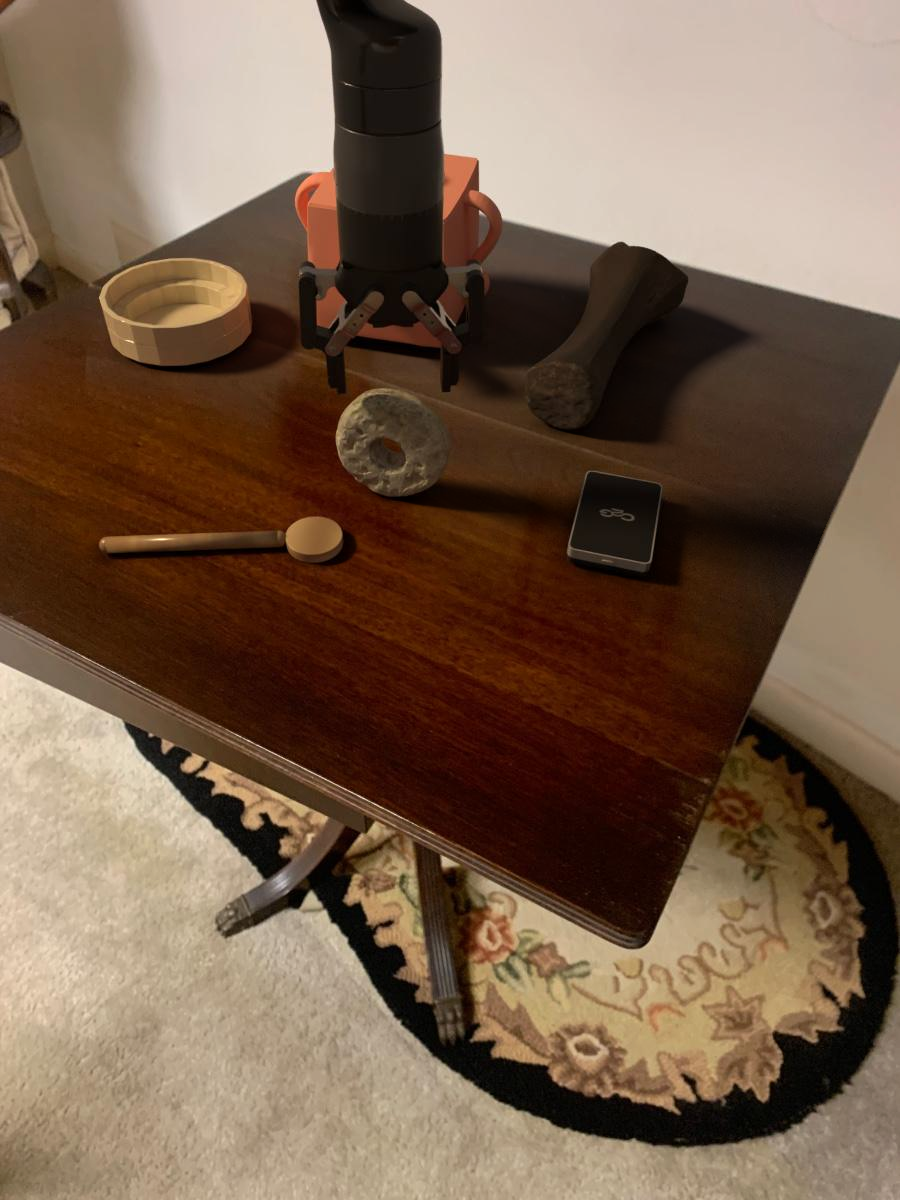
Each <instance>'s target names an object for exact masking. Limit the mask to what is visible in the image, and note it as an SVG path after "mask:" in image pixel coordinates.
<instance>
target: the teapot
mask: <svg viewBox="0 0 900 1200" xmlns="http://www.w3.org/2000/svg"><path fill="white" fill-rule="evenodd" d="M313 190H315V191H314V192H313V194H312V196H311V197H310V193H311V192H312V191H313ZM294 206H295V211H296V214H297V217H298V218H299V220H300V222H301V225H302V226H303V228H304V229H305V231H306V232H307V261H309V262H312V263H313V264H314V265H315V267H316V268H319V269H336V267H337V266H338V263H339V260H340V252H339V237H338V222H337V207H336V192H335V181H334V167H333V168H331V170H330V171H319V172H315V173H313V174H311V175H309V176H307V177H306V178H305V179H304V180H303V181H302V182H301V183H300V185H299V187H298V188H297V190H296V192H295V198H294ZM480 212H481V213H482V214H483V215H484V216H485V217H486V218H487V220H488V223H489V228H488V232H487V234H486V236H485V238H484V240H483V241H482V243H481V244H480V246H479V240H480V239H479V238H480V235H479V234H480ZM502 230H503V217H502V213H501V211H500V209H499V207H498V205H496V203H495V202H494V201H493V200H492V199H491V198H490V197H489V196H488V195H486V194H485V193H483V192H481V191H480V160H479V159H478V158H477V157H472V156H464V155H457V154H449V153H444V201H443V248H442V260H443V262H444V264H445V266H446V267H460V266H465V265H466V263H467V262H468V261H469V260H472V259H475V260H478V261H479V262H480V264H481V265H482V264H483V263H484V262H485V260H486V259H487V257H489V256H490V255H491V253H492V252H493V250H494V248H495V247H496V245H497V244H498V242H499V240H500V237H501V235H502V232H503V231H502ZM482 272H483V277H484V296H486V295H487V293H488V291H489V289H490V277H489V275H488V274H487V272H486V271H484V270H482ZM345 301H346V300H345V299H344V298H343V297H342V295H341V294H340V293H339V292H338V291H337V289H336V287H331V288H329V289H328V291H327V294H326V297H325V298H324V299H322V300H319V301H318V300H317V325H318V326H322V327H325V328H328V327H329V326H330V324H331V323H332V322H333V320H334V319H335V318H336V316H337V315H338V313H339V310H340V308H341V306H342V305H343V304H344V302H345ZM438 301H439V302H440V304H441V305H442V306H443V308H444V310H445V312H446V313H447V315H448V316H449V317H450V318H451V320H452V321H453V322H454V323H455V325H456V326H457V323H458V321H459V319H460V318H461V315H462V313H463V311H464V308H465V307H466V298H463V297H460V296H459V295H458V293H457V289H456V288H455V287H454V286H453V285H448V286H447V288H446V290H445V291H444V293H443V294H442V295H441V296H440V298H439V299H438ZM355 337H362V338H368V339H376V340H381V341H382V340H383V341H388V342H389V341H390V342H397V343H403V344H409V345H415V346H419V347H424V348H428V347H429V348H430V347H431V348H437V349H439V348H440V349H441V343H440V341H439V340H438V339H437V338H436V337H433V336H432V335H431V334H430V332H429V331H428V330H427V329H426V328H425V326H424V325H423V324H422V323H421V322H420V321H419V322H418V323H415V324H413V327H400V326H396V325H391V326H387V327H383V328H373V325H371V324H368V323H366V324H365V325H364V326H363V327H362V329H361V330H360V331H359V333H358V334H357V335H356V336H355Z"/></svg>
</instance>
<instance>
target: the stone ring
mask: <svg viewBox="0 0 900 1200" xmlns="http://www.w3.org/2000/svg"><path fill="white" fill-rule="evenodd" d="M383 439H387V440H391V441H393V442H394V443H396V444H397V445H398V446H400V448H401V449H402V450H400V451H394V450H392V449H389V448H388V447H387V446H386V445H385V443H384V440H383ZM451 442H452V438H451V435H450V433H449V429H448V428H447V426H446V424H445V423H444V421H443V420H442V418H441V417H439V416H438V415H437V413H436V412H435V411H434V410H433V409H432V408H431V406H430V405H429V404H428V403H427V402H426V401H425V400H423V399H422V398H420V397H418V396H417V395H414V394H412V393H410V392H408V391H405V390H402V389H396V388H390V387H384V388H383V387H382V388H373V389H367V390H365V392H363V393H361V394H360V395H358V396H357V397H356V398H355V399H353V400H352V402H350V404H349V405H348V406H346V407H345V409H344V411H343V412H342V413H341V415H340V417H339V420H338V424H337V430H336V433H335V445H336V449H337V455H338V459H339V460H340V462H341V464H342V466H343V468H344V469H345V470H346V472H348V473H349V474H350V475H351V476H353V477H354V479H355V480H356V481H357V482H358V483H360V484H361V485H365V486H366V487H367V488H368V489H369V490H371V491H372V492H374V493H376V494H379V495H382V496H384V497H408V496H412V495H416V494H419V493H421V492H423V491H425V490H428V489H429V488H431V487H432V486H433V485H434V484H436V483H437V482H438V481H439V480H440V478H441V477H442V475H443V474H444V471H445V469H446V467H447V465H448V461H449V457H450V451H451Z"/></svg>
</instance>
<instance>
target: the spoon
mask: <svg viewBox="0 0 900 1200" xmlns="http://www.w3.org/2000/svg"><path fill="white" fill-rule="evenodd" d="M285 545H286V550H287V552H288V553H289V555H290V556H291V557H293V558H294V559H295V560H298V561H300V562H303V563H308V564H316V563H323V562H326V561H329V560H331V559H333V558H334V557H336V556H337V555H338V554H339V553H340V552H341V550H342V549H343V546H344V535H343V529H342V528H341V525H339V524H338V523H337V522H336V521H335V520H333V519H331V518H328V517H324V516H307V517H304V518H301V519H298V520H296V521H294V523H292V524H291V525H290V526H289V527H288V528H287V530H286V532H284V531H283V530H256V531H255V530H253V531H230V532H229V531H227V532H223V531H222V532H198V533H169V534H167V533H166V534H142V535H141V534H140V535H114V536H113V535H112V536H111V535H110V536H104V537H102V538H101V539H100V541H99V543H98V547H99V549H100V551H101V552H102V553H104V554H129V553H130V554H131V553H158V552H161V553H162V552H181V551H183V552H185V551H186V552H187V551H210V550H211V551H212V550H213V551H215V550H238V549H239V550H240V549H263V548H264V549H267V548H281V547H283V546H285Z"/></svg>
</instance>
